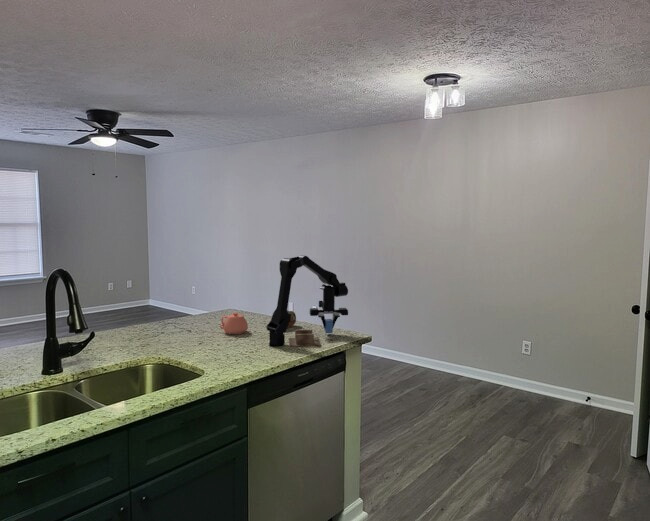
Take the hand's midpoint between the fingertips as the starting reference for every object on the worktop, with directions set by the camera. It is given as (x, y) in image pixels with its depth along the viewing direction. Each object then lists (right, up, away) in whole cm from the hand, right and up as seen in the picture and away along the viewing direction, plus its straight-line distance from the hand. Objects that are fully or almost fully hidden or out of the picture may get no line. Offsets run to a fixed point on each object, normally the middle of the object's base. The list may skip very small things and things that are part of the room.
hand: (328, 328), depth 230 cm
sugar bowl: (-48, -3, +4) cm, 48 cm away
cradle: (-11, -4, -14) cm, 19 cm away
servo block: (0, -2, 0) cm, 2 cm away
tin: (-23, -2, +16) cm, 28 cm away
